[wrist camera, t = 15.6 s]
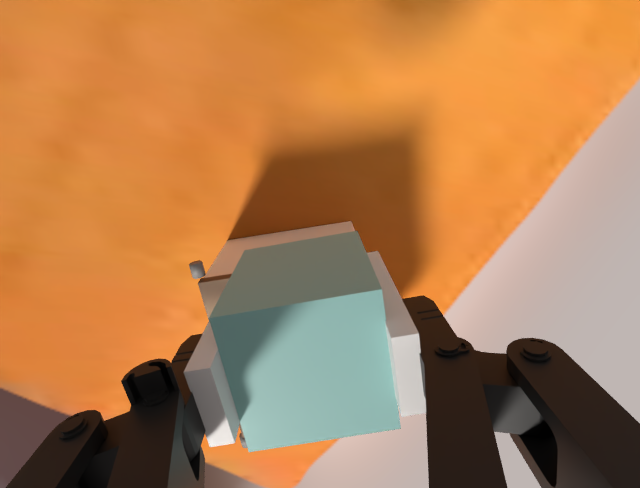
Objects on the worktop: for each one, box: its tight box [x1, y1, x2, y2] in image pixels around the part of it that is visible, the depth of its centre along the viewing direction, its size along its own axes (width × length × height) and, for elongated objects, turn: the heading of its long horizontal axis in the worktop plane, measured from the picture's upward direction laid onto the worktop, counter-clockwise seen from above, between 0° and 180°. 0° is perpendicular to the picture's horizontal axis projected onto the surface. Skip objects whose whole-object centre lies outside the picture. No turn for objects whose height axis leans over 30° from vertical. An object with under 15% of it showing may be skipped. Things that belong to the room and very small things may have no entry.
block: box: [209, 231, 401, 452], centre depth 14 cm, size 5×5×6 cm
